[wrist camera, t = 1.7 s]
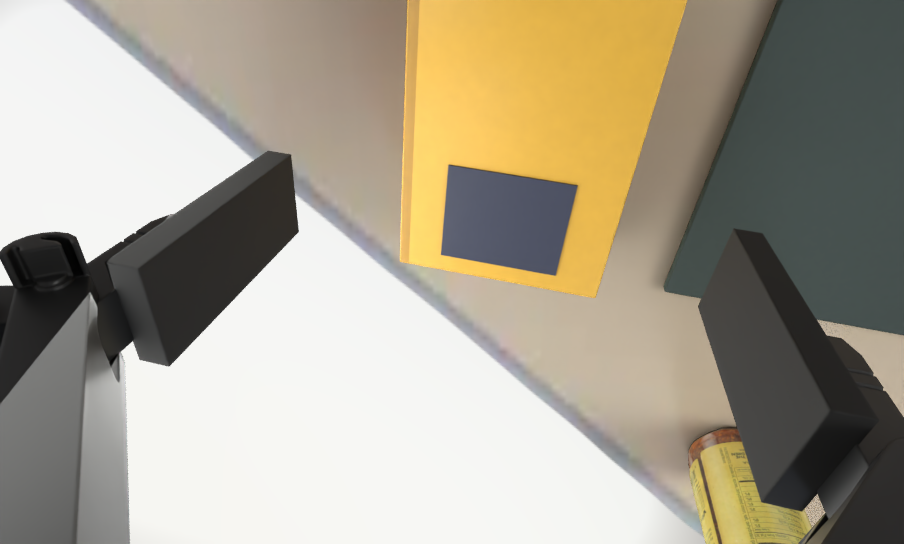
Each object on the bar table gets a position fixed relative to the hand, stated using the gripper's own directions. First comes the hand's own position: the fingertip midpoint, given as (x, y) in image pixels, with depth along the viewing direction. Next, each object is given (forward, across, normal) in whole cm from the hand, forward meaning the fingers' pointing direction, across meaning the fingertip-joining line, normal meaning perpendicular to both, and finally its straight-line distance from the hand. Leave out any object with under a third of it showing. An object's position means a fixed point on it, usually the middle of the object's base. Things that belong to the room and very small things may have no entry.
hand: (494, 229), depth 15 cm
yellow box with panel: (+14, 0, 0) cm, 14 cm away
